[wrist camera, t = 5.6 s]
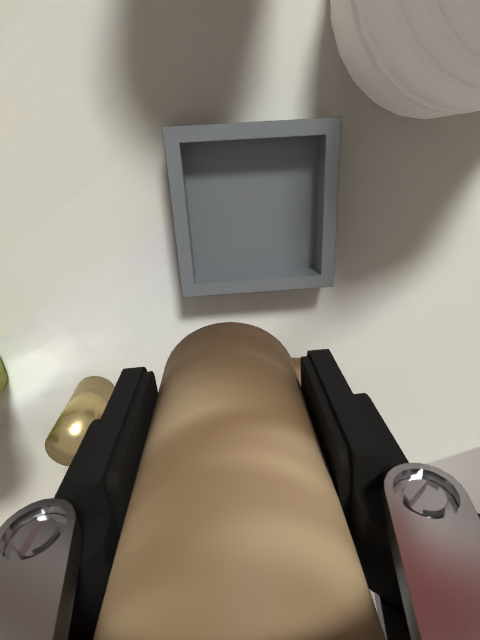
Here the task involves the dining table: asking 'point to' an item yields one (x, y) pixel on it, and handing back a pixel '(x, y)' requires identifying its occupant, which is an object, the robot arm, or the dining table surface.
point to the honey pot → (412, 53)
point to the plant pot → (2, 377)
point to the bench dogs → (78, 418)
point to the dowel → (234, 509)
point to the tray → (254, 204)
